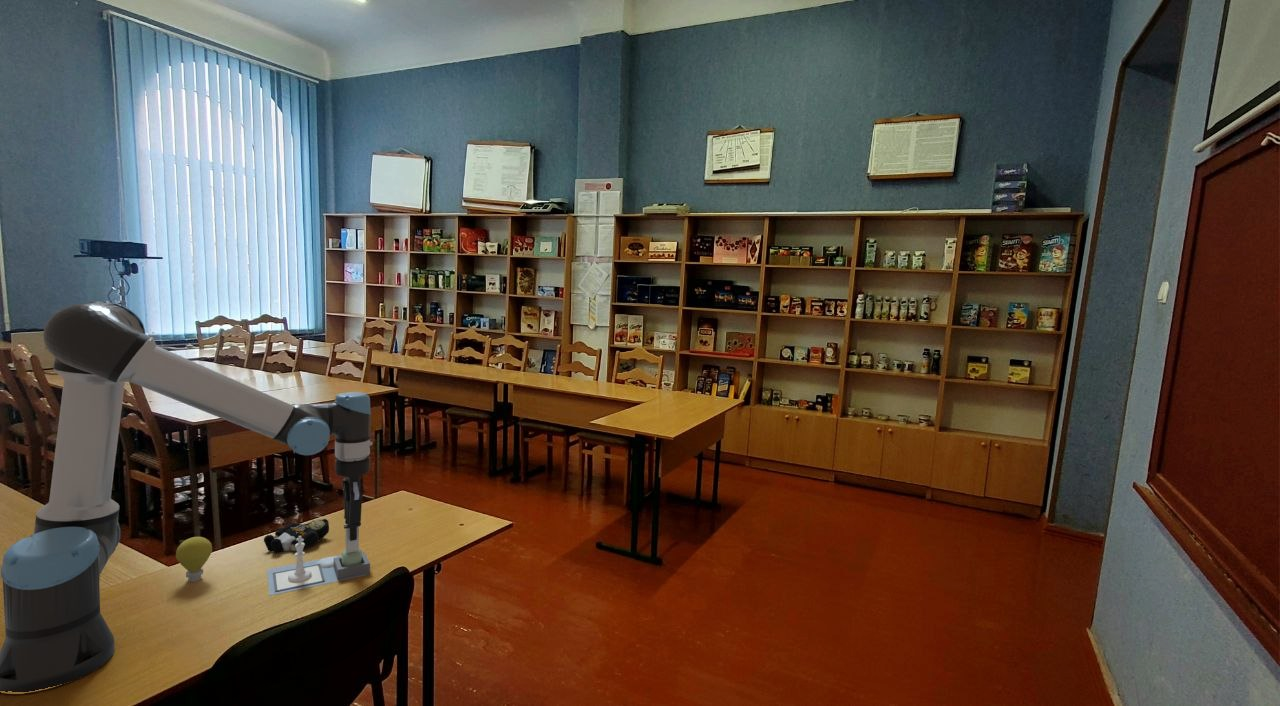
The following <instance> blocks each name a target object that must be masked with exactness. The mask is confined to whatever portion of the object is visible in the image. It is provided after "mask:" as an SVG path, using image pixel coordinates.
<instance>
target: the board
mask: <svg viewBox="0 0 1280 706" xmlns="http://www.w3.org/2000/svg"><path fill="white" fill-rule="evenodd" d="M296 565H297V563H294V564H288V565H283V566H277V567H272V568H271V567H270V568H267V569H266V571H267V581H268V593H269V596H270V597H271V596H275V595H280V594H284V593H288V592H294V591H300V590H303V589H308V588H312V587H318V586H322V585H327V584H331V583H335V582H340V581H344V580H345V581H346V580H350V579H354V578H359V577H364V576H369V574H371V562H370V560H369V558H368V556H367V554H366V552H365V551H364V552H363V551H362V563H360V564H355V565H350V566H345V567H342V554H340V555H335V556H328V557H324V558H319V559H313V560H309V561H305V562H304V561H303V566H304V568H305V569H308V570H310V571H311V574H312V576H311V577H310V578H308V579H307V580H304V581H300V582H291V581H288V575H289V574H290V573H291V572H293V571H294V570H296Z"/></svg>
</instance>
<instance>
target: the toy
mask: <svg viewBox="0 0 1280 706" xmlns="http://www.w3.org/2000/svg"><path fill="white" fill-rule="evenodd" d="M329 531H330V525H329V520H327V519H326V518H323V519H313V520H312V521H309V522H307V523H299V522H291V523H290V524H288V525H285V526H284V527H282V528H279V529H278V530H276V531H275V532H274V535H272V534H267V535H265V536H264V537H263V542H264V545H265V547H266V548H267V551H269V552H273V553H274V554H280V553H283V552H288V551H292V552H297V550H296V548H295V544H297V543H298V541H296V539H297V538H298V537H299V536H301V539H304V541H301V542H302V543H305V545H304V548H303V550H306V549H307V548H309V547H312V546H314V545H316V544H317V543H319V541H321V540H323V539H324V538H325V536H327V535H328V534H329Z"/></svg>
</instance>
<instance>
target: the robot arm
mask: <svg viewBox="0 0 1280 706" xmlns="http://www.w3.org/2000/svg"><path fill="white" fill-rule="evenodd" d="M42 333H43V334H42V335H43V336H42V337H43V342H44V346H45V347H46V349H47V351H48V352H49V353H50V354H51V355H52V356H53V357H54V364H53V372H54V373H57V375H59V376H60V377H61V378H62V379H63V384H62V391H61V392H62V394H61V402H60V410H59V417H58V425H57V433H56V434H57V435H56V443H55V450H54V451H55V452H54V459H53V467H52V475H51V484H50V492H49V500H48V503H46V504H44V505H43V506H42V507H40V508H39V509H38V510H37V511H36V513H35V519H34V520H35V521H34V528H33V534H31V535H30V536H29V537H23V538H22V539H19V540H18V541H16V542H15V543H14V544H12V545H10V547H8V549H6V551H5V553H4V554H3V556H2V557H3V558H2V564H1V568H0V573H1V574H0V577H1V580H2V591H3V594H2V595H3V609H4V610H3V611H4V626H5V627H4V629H5V638H4V641H3V642H2V643H3V644H2V646H1V649H0V691H5V692H8V691H12V692H29V691H35V690H39V689H45V688H48V687H53V686H57V685H60V684H64V683H67V682H70V681H72V682H74V681H73V680H75V681H77V680H78V678H79V679H81V678H84V677H85V675H86V676H88V675H89V674H91V673H93V672H95V671H97V670H98V669H99V668H101V667H102V666H104V665H105V664H106V663H107V662H109V660H110V659H111V658H112V657H113V655H114V654H115V651H116V650H115V647H116V646H115V637H114V636H115V635H114V634H113V632H112V631H111V629H110V628H109V625H108V623H107V622H106V620H105V619H104V617H103V615H102V613H101V612H102V611H101V597H100V595H101V593H100V579H101V578H100V577H101V574H102V571H104V568H105V567H106V565H107V563H108V561H109V559H110V558H111V556H112V555H113V554H114V552H115V551H116V548H117V547H118V545H119V543H120V539H121V526H120V523H119V516H120V514H119V513H120V505H119V503H118V502H116V501H115V500H113V499H112V488H113V481H114V473H115V467H116V466H115V464H116V458H117V457H116V456H117V450H118V449H117V448H118V442H119V434H120V426H121V417H122V410H123V409H122V408H123V400H124V391H125V386H126V385H125V384H126V383H132V384H134V385H137V386H139V387H142V388H145V389H147V390H150V391H152V392H155V393H156V394H157V393H158V394H160V395H161V396H165V397H167V398H169V399H172V400H174V401H176V402H179V403H182V404H185V405H187V406H190V407H192V408H195V409H198V410H199V411H202V412H205V413H207V414H209V415H213V416H214V417H217V418H220V419H222V420H225V421H227V422H229V423H232V424H234V425H235V424H236V425H237V426H240V427H243V428H244V429H247V430H251V431H252V432H255V433H258V434H260V435H263V436H265V437H268V438H270V439H272V440H275V441H277V442H279V443H281V444H284V445H287V446H288V447H289V448H290V449H291V450H292V451H293V452H295V453H296V454H298V455H302V456H313V455H316V454H317V453H318V454H319V453H320V452H322V451H323V450H324V449H325V448H326V447H327V446H328V444H329V441H330V437H331V436H333V435H334V436H335V437H334V438H335V439H334V457H335V458H336V459H335V461H334V473H335V475H336V476H339V477H341V478H342V477H343V478H342V484H341V485H342V487H343V508H344V509H343V510H344V511H343V512H344V515H343V518H344V520H345V521H344V523H345V524H343V529H345V550H346V553H352V552H357V551H359V549H360V548H359V547H360V544H359V542H360V527H361V526H362V522H361V521H362V505H363V495H364V492H363V491H362V489H363V487H364V482H363V480H362V478H361V476H363V475H366V474H368V473H369V472H370V470H371V457H370V456H369V455H370V454H371V448H370V447H371V446H373V444H374V443H373V441H371V417H372V416H371V415H372V412H371V398H370V396H369V395H368V394H367V393H365V392H360V391H355V392H353V391H351V392H350V391H349V392H340V393H337V394H336V396H335V400H334V402H325V403H303V404H302V403H300V404H299V403H298V404H296V403H292V404H291V403H288V402H285V401H284V400H281V399H278V398H276V397H274V396H272V395H270V394H267V393H266V392H263V391H260V390H258V389H256V388H254V387H252V386H249V385H247V384H244V383H242V382H240V381H238V380H235V379H233V378H231V377H230V376H226V375H224V374H223V373H220V372H217V371H215V370H212V369H210V368H209V367H206V366H204V365H202V364H200V363H197V362H194V361H193V360H190V359H188V358H186V357H184V356H182V355H180V354H177V353H174V352H172V351H169V350H167V349H166V348H163V347H161V346H159V345H157V343H156V341H155V338H154V337H153V336H150V335H148V334H146V329H145V326H144V322H143V321H142V319H141V318H140V317H139V316H138V315H137V314H136V313H135V312H134V311H132V310H131V309H129V308H127V307H125V306H123V305H120V304H119V303H113V302H109V301H89V302H84V303H78V304H74V305H70V306H67V307H64V308H62V309H60V310H59V311H57V312H55V313H54V314H53V315H52V316H50V318H48V320H47V321H46V324H45V325H44V329H43V332H42ZM97 668H98V669H97ZM94 670H95V671H94ZM80 677H81V678H80ZM76 679H77V680H76ZM70 683H71V682H70ZM67 684H68V683H67ZM64 685H65V684H64Z"/></svg>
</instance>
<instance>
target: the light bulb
mask: <svg viewBox="0 0 1280 706" xmlns="http://www.w3.org/2000/svg"><path fill="white" fill-rule="evenodd" d="M212 553H213V546H212V542H211V541H210V540H209V539H207V538H206V537H203V536H193V537H190V538H188V539H185V540H183V542H181V543H180V544H179V545H178V547H177V549H176V551H175V558H176V560H177V562H178V563H179V565H181V566H182V567H183V568H184V569H185V570H186V571H185V577H186V578H188V579H187V580H188V582H193V583H194V582H198V581H200V580H201V579H202V575H203V574H204V568H203V566H204V565H206V563H207V561H208V560H209V558H210V557H211V555H212Z"/></svg>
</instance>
